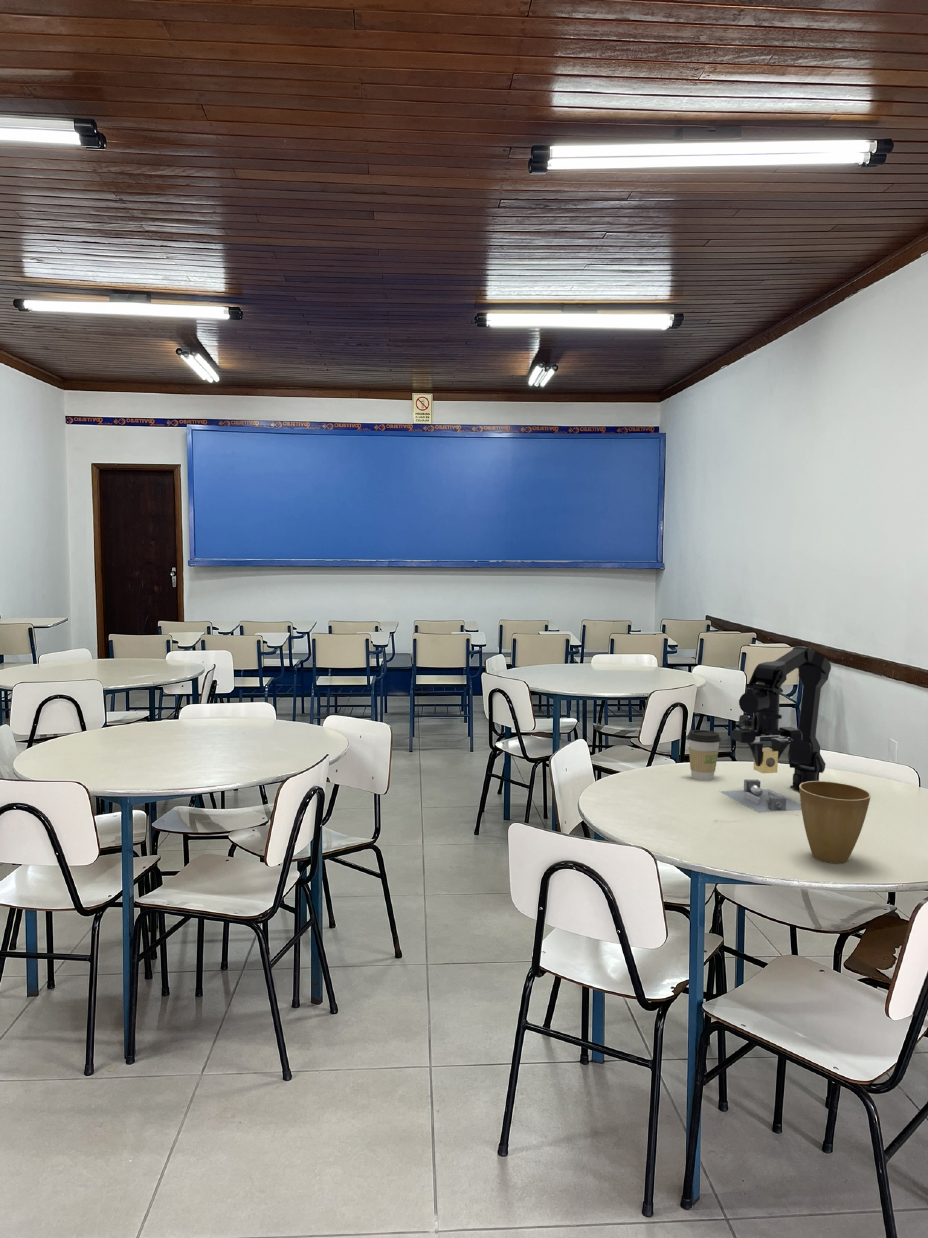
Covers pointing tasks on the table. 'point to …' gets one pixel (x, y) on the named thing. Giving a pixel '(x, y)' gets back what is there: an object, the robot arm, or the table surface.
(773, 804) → the shaft
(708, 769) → the coffee cup
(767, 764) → the block
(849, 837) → the plant pot
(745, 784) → the shaft
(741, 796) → the grey base plate
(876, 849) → the table surface
